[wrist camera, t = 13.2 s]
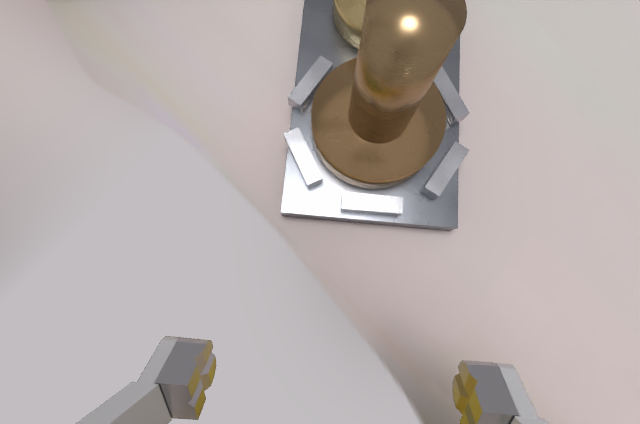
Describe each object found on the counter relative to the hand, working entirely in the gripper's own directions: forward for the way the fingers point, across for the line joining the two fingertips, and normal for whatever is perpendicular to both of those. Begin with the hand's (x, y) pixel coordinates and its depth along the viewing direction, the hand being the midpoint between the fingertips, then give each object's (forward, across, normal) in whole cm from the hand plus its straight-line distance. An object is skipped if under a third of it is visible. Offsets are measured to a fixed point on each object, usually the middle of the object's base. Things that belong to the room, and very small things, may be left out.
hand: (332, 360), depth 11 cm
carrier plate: (+19, -2, -6) cm, 20 cm away
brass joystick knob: (+15, -2, -3) cm, 15 cm away
